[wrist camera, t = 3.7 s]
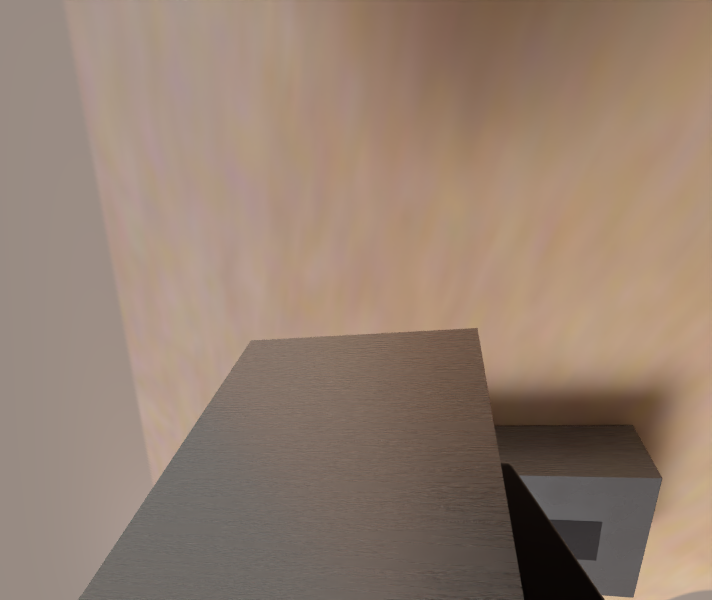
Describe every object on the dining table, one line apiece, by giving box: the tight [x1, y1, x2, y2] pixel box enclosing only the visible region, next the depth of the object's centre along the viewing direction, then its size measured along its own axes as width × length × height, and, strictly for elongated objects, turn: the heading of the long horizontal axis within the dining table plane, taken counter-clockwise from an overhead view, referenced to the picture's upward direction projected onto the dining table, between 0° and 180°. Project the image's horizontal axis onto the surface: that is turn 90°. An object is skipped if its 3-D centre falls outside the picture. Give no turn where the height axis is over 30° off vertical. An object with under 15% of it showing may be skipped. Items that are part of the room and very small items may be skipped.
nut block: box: [79, 328, 524, 600], centre depth 8 cm, size 5×5×6 cm
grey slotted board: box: [494, 426, 662, 597], centre depth 23 cm, size 20×9×3 cm, turn 100°
